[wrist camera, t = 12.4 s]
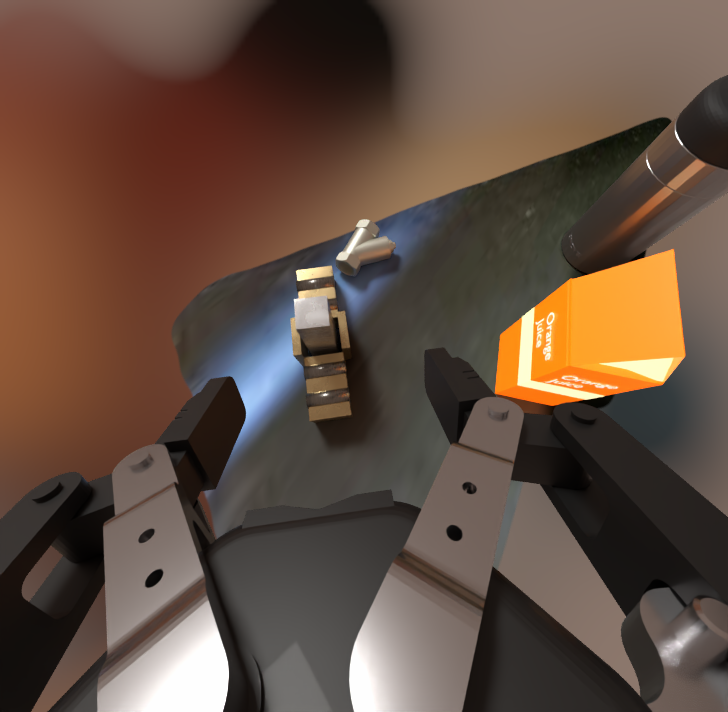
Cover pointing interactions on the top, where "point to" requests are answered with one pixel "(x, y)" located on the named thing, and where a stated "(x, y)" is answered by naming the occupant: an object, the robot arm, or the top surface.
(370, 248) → the pipe fitting
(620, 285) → the orange juice
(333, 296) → the gold block with rollers
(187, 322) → the top surface
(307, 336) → the square grey block
